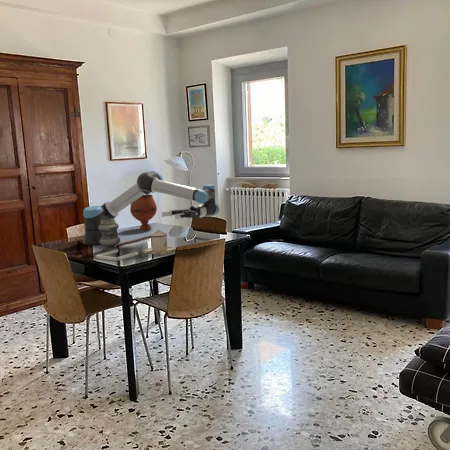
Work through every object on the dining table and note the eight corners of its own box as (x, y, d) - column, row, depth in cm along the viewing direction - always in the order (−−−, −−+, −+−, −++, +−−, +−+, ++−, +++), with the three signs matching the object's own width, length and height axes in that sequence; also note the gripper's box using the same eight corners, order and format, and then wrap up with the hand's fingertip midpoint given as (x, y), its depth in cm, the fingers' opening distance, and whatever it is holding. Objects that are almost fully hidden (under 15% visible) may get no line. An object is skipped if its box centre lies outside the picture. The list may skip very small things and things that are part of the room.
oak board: (141, 252, 279) (141, 250, 278) (157, 247, 290) (157, 245, 290) (162, 255, 270) (162, 253, 270) (178, 250, 281) (178, 247, 281)
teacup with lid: (168, 250, 275) (167, 230, 273) (152, 252, 273) (150, 231, 271) (167, 246, 286) (165, 227, 284) (151, 247, 285) (150, 228, 283)
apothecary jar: (100, 249, 294) (97, 219, 291) (120, 247, 297) (118, 218, 294) (100, 253, 283) (97, 222, 280) (121, 251, 285) (118, 221, 282)
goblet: (126, 230, 355) (124, 197, 351) (141, 226, 372) (139, 194, 368) (148, 231, 347) (146, 197, 343) (163, 227, 364) (160, 194, 360)
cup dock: (87, 256, 274) (87, 254, 274) (109, 250, 288) (109, 248, 287) (116, 260, 261) (116, 258, 261) (138, 254, 275) (138, 251, 274)
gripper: (210, 219, 290) (181, 224, 276) (185, 215, 308) (157, 219, 295) (210, 207, 288) (181, 211, 275) (185, 203, 307) (156, 207, 293)
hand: (168, 215), depth 285 cm, fingers open, 13 cm apart
